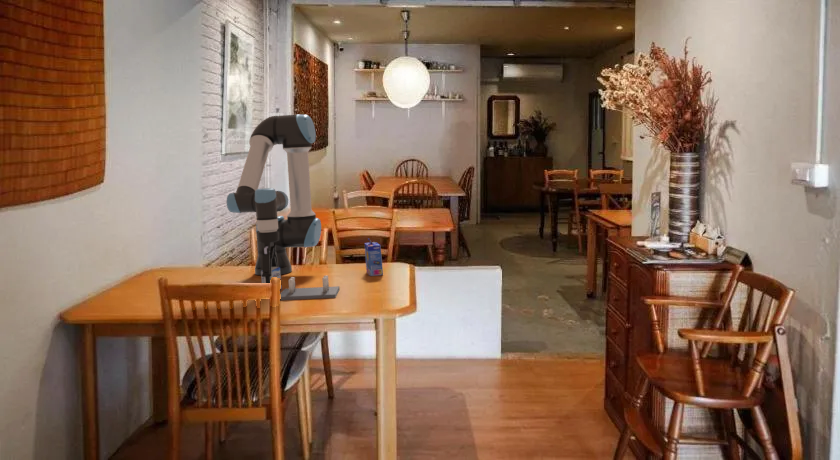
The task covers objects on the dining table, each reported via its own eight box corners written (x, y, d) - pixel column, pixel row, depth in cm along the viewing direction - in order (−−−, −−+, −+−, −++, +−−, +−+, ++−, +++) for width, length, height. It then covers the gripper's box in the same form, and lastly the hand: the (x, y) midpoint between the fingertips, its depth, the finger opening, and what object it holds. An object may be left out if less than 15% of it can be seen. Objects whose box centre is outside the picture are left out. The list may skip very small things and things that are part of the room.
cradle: (284, 292, 285) (283, 275, 284) (339, 289, 285) (338, 272, 284) (277, 300, 271) (276, 282, 270) (335, 297, 271) (334, 280, 270)
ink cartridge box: (365, 272, 318) (363, 237, 316) (378, 271, 319) (377, 236, 317) (369, 276, 308) (367, 240, 306) (383, 275, 309) (381, 239, 307)
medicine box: (273, 293, 283) (272, 270, 281) (262, 294, 283) (260, 270, 282) (281, 289, 290) (280, 266, 289) (270, 289, 291) (269, 266, 290)
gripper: (263, 227, 295) (267, 285, 298) (250, 235, 273) (255, 297, 276) (283, 226, 295) (287, 284, 298) (272, 234, 273) (276, 297, 276)
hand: (272, 290), depth 287 cm, fingers open, 10 cm apart
